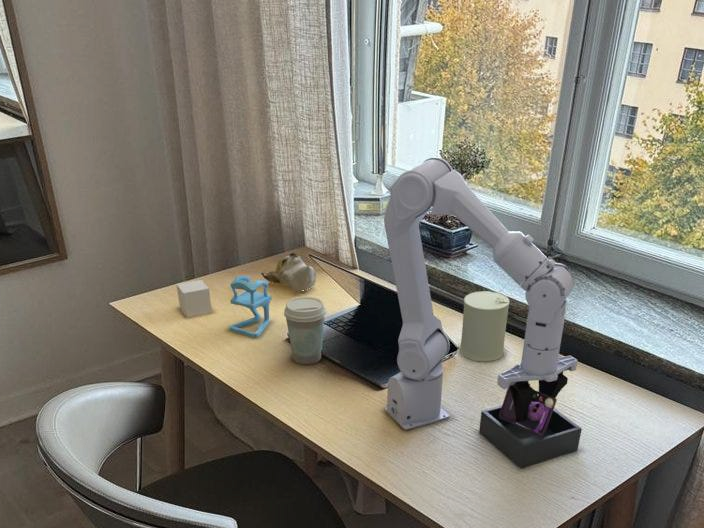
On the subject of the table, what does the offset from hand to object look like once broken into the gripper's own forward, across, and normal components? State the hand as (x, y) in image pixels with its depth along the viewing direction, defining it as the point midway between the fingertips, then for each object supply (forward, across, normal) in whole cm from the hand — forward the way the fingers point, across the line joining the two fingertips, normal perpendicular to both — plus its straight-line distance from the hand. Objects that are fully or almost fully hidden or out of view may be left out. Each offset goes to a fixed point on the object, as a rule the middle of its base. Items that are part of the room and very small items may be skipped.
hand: (531, 414), depth 132 cm
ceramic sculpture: (+6, -10, +84) cm, 84 cm away
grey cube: (+6, -36, +80) cm, 88 cm away
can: (+6, +12, +32) cm, 35 cm away
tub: (+6, 0, 0) cm, 6 cm away
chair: (+6, -27, +66) cm, 71 cm away
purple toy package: (+2, 0, 0) cm, 2 cm away
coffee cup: (+6, -22, +46) cm, 52 cm away
